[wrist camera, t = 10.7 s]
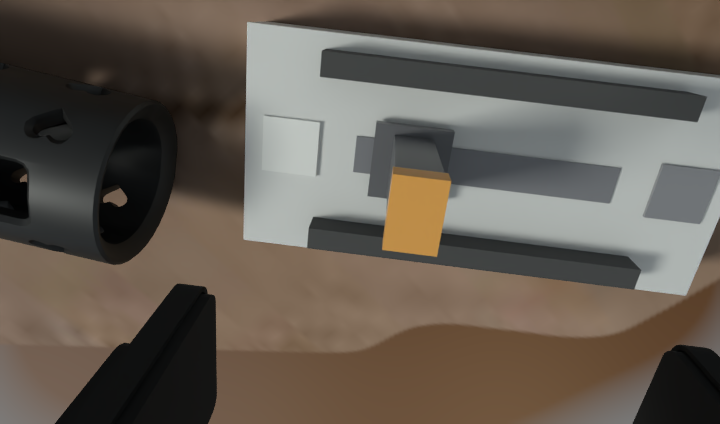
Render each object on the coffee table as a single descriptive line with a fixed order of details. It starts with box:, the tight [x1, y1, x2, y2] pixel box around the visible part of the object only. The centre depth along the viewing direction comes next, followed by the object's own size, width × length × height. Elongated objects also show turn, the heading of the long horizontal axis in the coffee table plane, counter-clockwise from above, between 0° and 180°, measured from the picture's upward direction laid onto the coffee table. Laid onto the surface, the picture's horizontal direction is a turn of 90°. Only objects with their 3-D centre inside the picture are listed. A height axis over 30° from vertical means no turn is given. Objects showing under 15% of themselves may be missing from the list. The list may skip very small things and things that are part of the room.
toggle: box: [367, 120, 455, 257], centre depth 22 cm, size 4×4×8 cm
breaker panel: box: [244, 21, 720, 296], centre depth 28 cm, size 12×26×4 cm, turn 84°
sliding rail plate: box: [307, 49, 707, 289], centre depth 25 cm, size 10×18×2 cm, turn 84°
